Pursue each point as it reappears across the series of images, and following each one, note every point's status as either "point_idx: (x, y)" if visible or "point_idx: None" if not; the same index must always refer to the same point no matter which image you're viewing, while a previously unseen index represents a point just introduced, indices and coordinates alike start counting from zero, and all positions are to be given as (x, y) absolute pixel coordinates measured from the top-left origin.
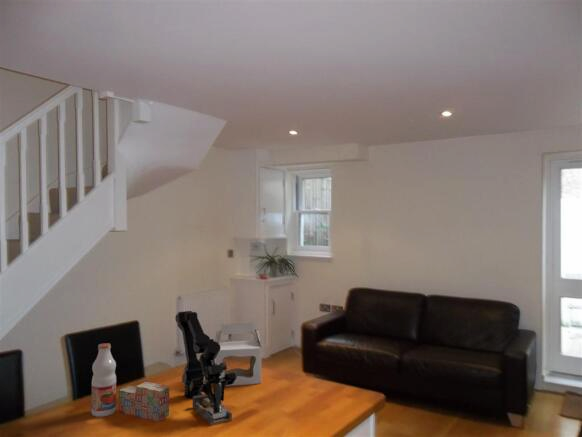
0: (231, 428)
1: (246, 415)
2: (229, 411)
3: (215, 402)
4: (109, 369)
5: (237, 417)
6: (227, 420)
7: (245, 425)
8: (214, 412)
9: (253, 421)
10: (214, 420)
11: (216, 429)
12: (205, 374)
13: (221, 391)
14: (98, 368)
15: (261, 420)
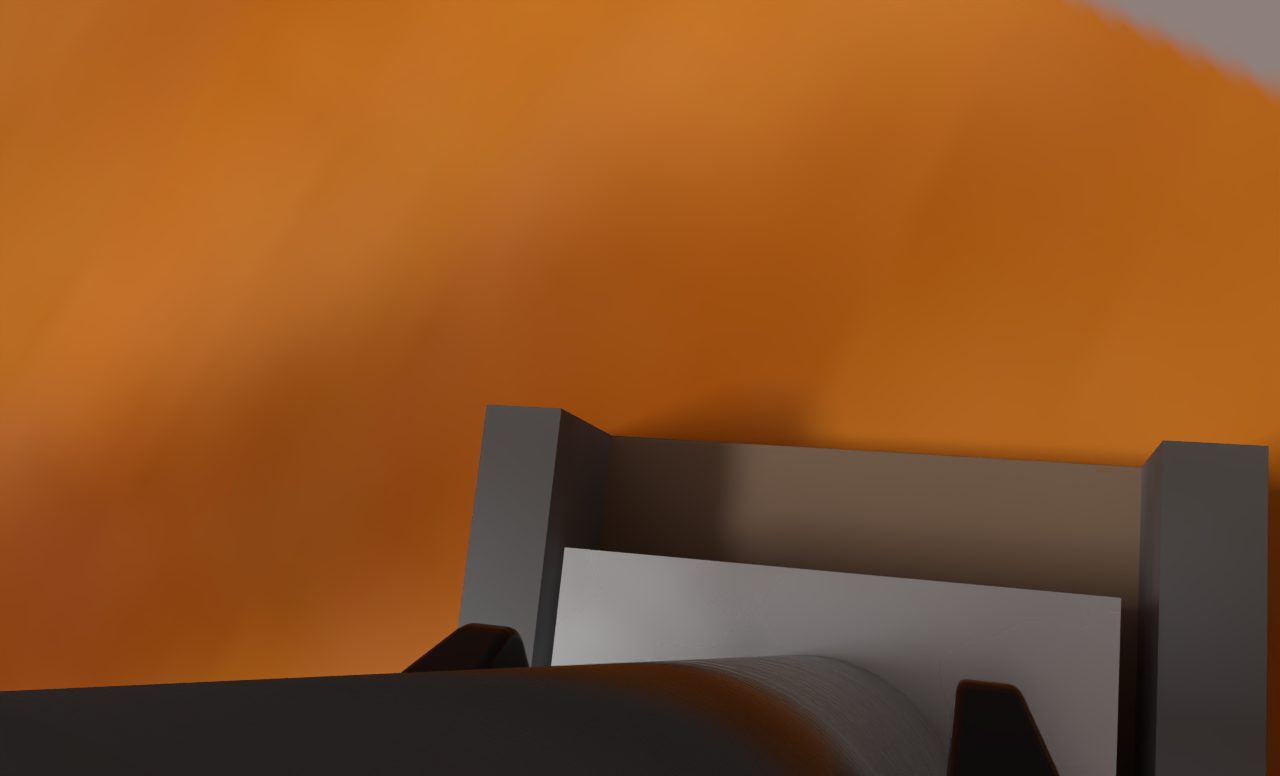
0: (793, 49)
1: (144, 523)
2: (474, 568)
3: (904, 767)
4: None
5: (356, 546)
6: (680, 441)
7: (452, 47)
8: None
9: (217, 147)
10: (1041, 581)
11: (1168, 175)
12: None
13: None
14: None
15: (78, 111)
